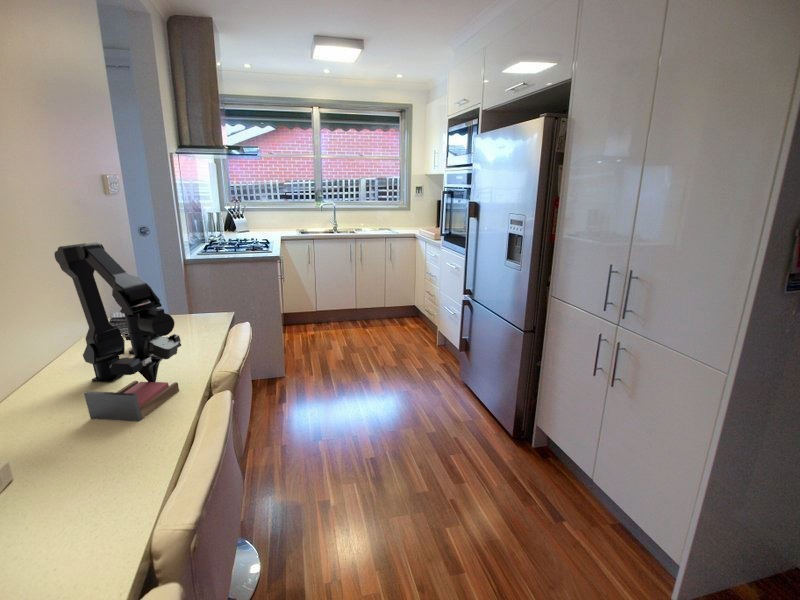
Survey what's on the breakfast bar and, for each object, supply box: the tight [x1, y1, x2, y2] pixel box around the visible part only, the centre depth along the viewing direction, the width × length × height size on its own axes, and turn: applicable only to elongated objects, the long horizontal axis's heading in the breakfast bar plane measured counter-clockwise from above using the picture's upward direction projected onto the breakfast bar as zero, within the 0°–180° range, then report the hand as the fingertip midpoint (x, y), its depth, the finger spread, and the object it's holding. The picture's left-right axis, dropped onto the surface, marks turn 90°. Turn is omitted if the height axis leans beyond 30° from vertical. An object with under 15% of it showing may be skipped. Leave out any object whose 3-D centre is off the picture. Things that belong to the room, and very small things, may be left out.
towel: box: [108, 307, 160, 336], centre depth 163 cm, size 15×18×8 cm
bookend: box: [83, 390, 143, 422], centre depth 98 cm, size 13×1×7 cm, turn 83°
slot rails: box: [115, 380, 180, 420], centre depth 106 cm, size 13×14×2 cm
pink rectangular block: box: [124, 381, 170, 408], centre depth 105 cm, size 8×12×4 cm, turn 174°
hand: (152, 383), depth 111 cm, fingers closed
